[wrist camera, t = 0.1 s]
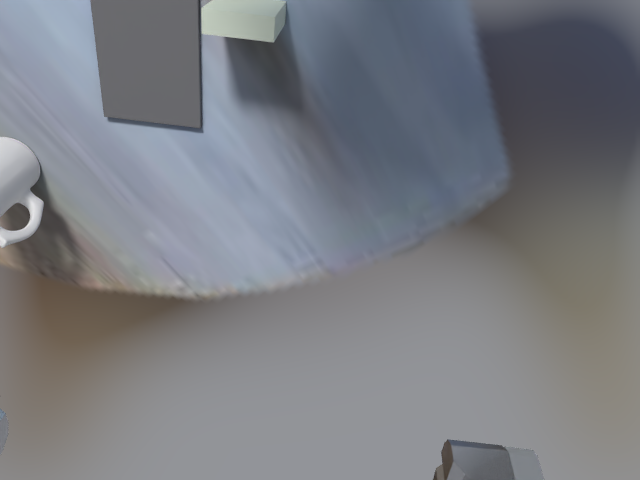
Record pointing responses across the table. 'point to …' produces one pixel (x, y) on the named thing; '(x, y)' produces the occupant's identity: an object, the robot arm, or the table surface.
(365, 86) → the table surface
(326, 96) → the table surface
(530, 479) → the robot arm
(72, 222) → the table surface
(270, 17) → the block
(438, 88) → the table surface
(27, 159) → the mug
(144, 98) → the mat
